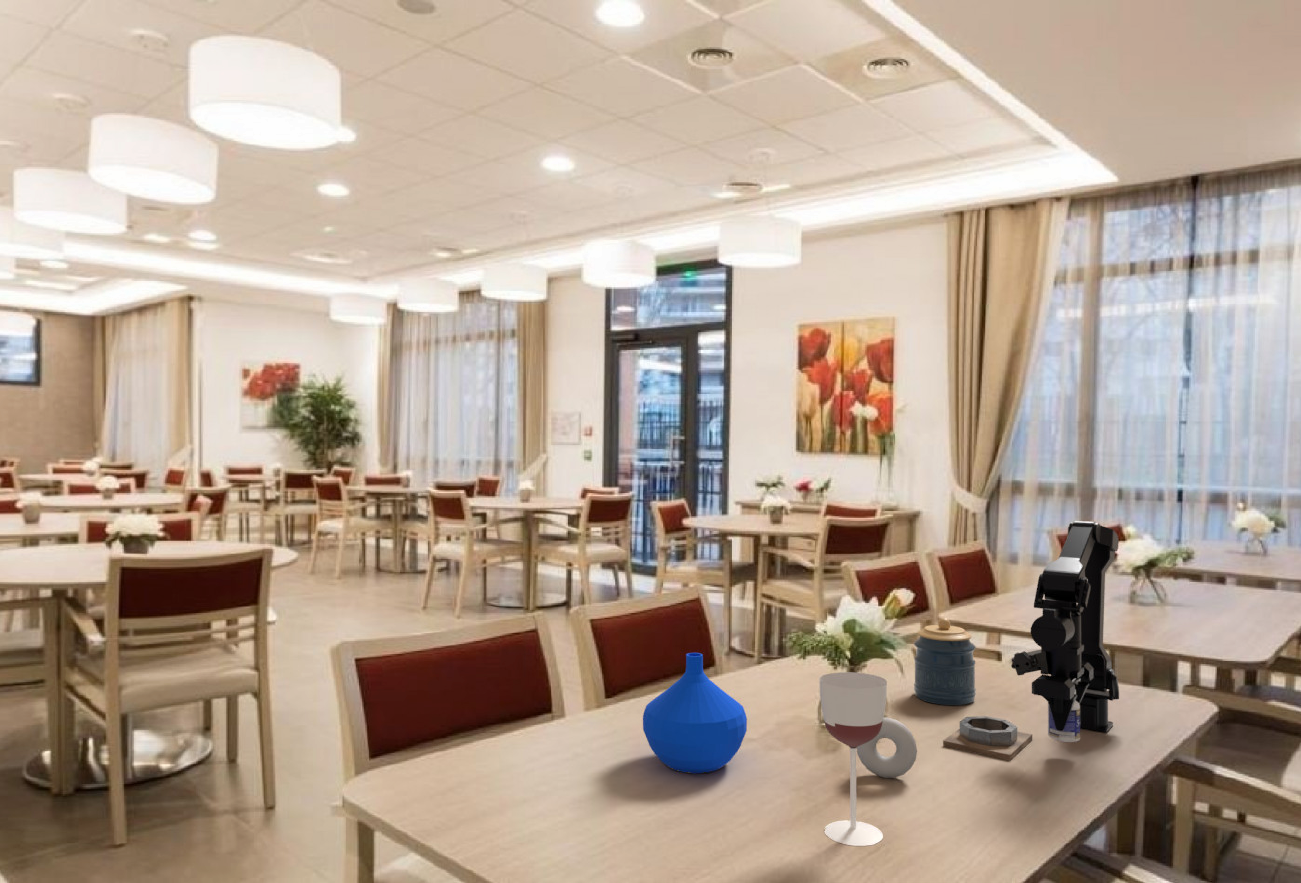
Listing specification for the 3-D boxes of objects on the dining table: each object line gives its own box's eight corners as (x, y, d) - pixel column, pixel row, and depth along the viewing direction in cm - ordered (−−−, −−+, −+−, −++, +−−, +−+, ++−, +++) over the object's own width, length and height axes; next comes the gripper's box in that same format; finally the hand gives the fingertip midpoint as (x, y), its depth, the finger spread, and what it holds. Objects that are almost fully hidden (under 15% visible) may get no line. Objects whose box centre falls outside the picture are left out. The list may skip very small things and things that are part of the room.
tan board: (968, 727, 172) (968, 721, 172) (1032, 739, 165) (1032, 734, 165) (943, 745, 161) (943, 740, 161) (1010, 760, 154) (1010, 754, 154)
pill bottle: (1084, 743, 152) (1083, 693, 152) (1052, 741, 153) (1051, 691, 153) (1075, 733, 158) (1075, 685, 158) (1044, 732, 159) (1044, 683, 159)
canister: (984, 706, 186) (984, 624, 186) (924, 706, 186) (923, 624, 186) (963, 689, 199) (963, 612, 199) (907, 689, 199) (906, 612, 199)
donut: (917, 777, 146) (917, 717, 146) (916, 784, 143) (916, 724, 143) (857, 770, 149) (856, 711, 149) (854, 777, 146) (854, 717, 146)
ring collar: (971, 726, 169) (971, 713, 169) (1021, 736, 164) (1021, 722, 164) (954, 738, 162) (954, 725, 162) (1006, 749, 156) (1006, 735, 156)
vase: (760, 754, 157) (760, 648, 157) (726, 790, 140) (725, 672, 140) (668, 740, 165) (667, 639, 165) (624, 773, 148) (624, 661, 148)
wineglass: (812, 821, 129) (812, 673, 129) (875, 818, 130) (874, 671, 130) (829, 848, 120) (829, 689, 120) (896, 845, 121) (896, 687, 121)
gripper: (1030, 625, 168) (1031, 705, 168) (1000, 642, 153) (1001, 730, 153) (1093, 632, 161) (1094, 716, 161) (1069, 651, 146) (1069, 744, 146)
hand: (1063, 726), depth 155 cm, fingers closed on pill bottle, 5 cm apart
